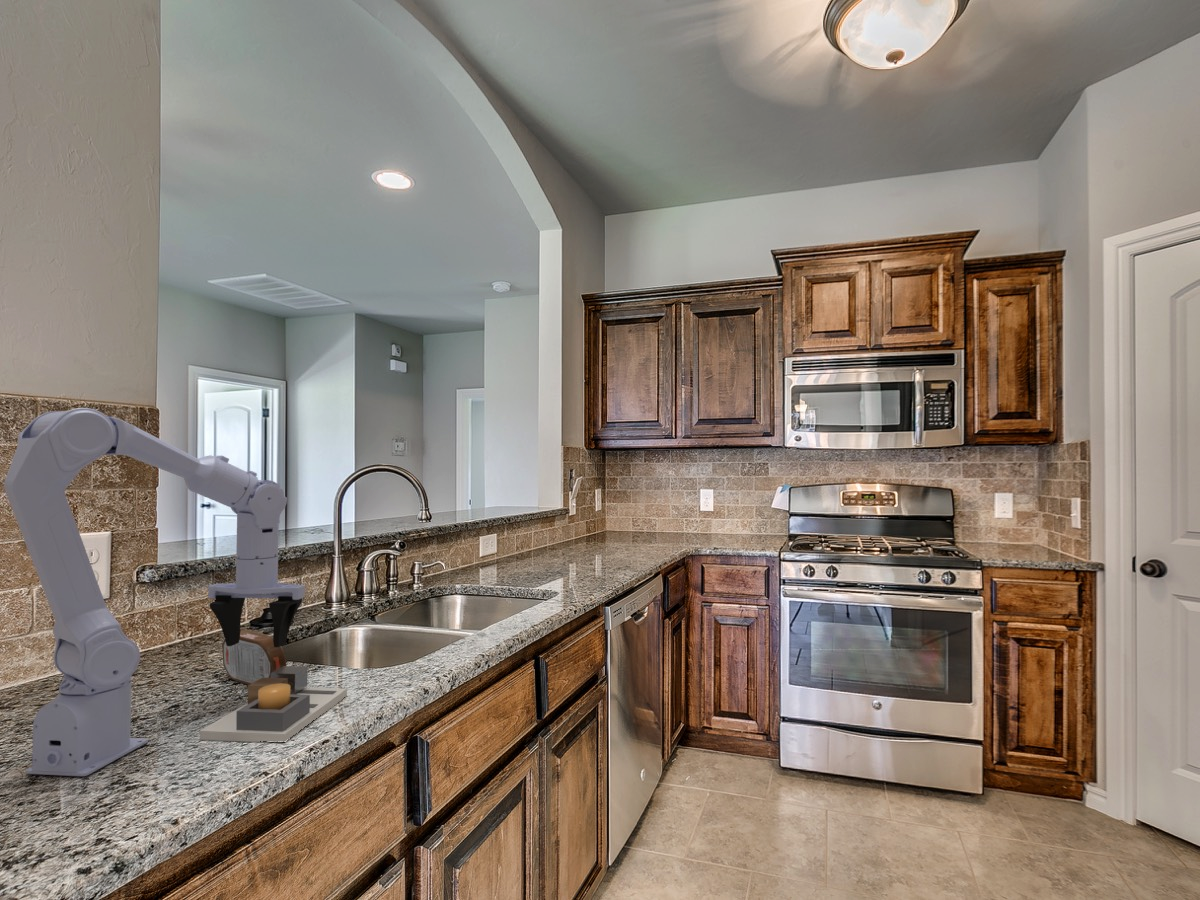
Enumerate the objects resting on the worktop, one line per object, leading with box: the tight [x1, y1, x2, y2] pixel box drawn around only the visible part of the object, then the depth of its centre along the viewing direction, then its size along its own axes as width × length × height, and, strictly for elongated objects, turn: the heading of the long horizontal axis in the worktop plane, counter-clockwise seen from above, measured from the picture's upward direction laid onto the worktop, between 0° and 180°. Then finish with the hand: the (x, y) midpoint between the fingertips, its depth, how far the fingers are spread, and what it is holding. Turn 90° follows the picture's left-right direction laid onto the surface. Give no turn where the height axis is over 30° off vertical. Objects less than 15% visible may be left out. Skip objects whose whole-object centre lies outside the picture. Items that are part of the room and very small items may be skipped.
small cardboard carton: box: [247, 678, 288, 704], centre depth 94 cm, size 4×4×3 cm
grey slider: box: [271, 665, 308, 693], centre depth 100 cm, size 4×4×3 cm
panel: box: [199, 686, 348, 743], centre depth 93 cm, size 17×12×4 cm
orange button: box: [258, 683, 290, 710], centre depth 89 cm, size 4×4×2 cm
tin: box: [221, 629, 287, 686], centre depth 107 cm, size 15×3×8 cm, turn 59°
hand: (256, 645), depth 98 cm, fingers open, 7 cm apart
